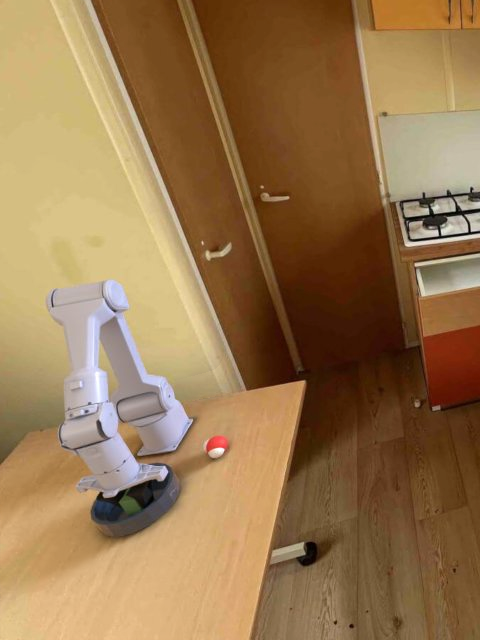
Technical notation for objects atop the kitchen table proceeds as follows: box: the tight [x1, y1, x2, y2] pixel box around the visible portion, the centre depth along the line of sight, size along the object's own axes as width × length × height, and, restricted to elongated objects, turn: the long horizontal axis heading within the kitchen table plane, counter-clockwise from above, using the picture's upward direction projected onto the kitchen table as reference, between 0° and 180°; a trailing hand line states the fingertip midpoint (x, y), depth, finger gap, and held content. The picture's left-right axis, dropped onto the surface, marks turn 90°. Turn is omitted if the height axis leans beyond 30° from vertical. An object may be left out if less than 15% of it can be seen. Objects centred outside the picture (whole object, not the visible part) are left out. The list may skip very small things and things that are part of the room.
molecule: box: [202, 435, 229, 459], centre depth 98 cm, size 5×5×4 cm
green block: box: [119, 487, 155, 517], centre depth 86 cm, size 4×3×6 cm
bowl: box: [89, 462, 181, 538], centre depth 87 cm, size 13×13×4 cm
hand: (140, 504), depth 86 cm, fingers closed on green block, 3 cm apart
